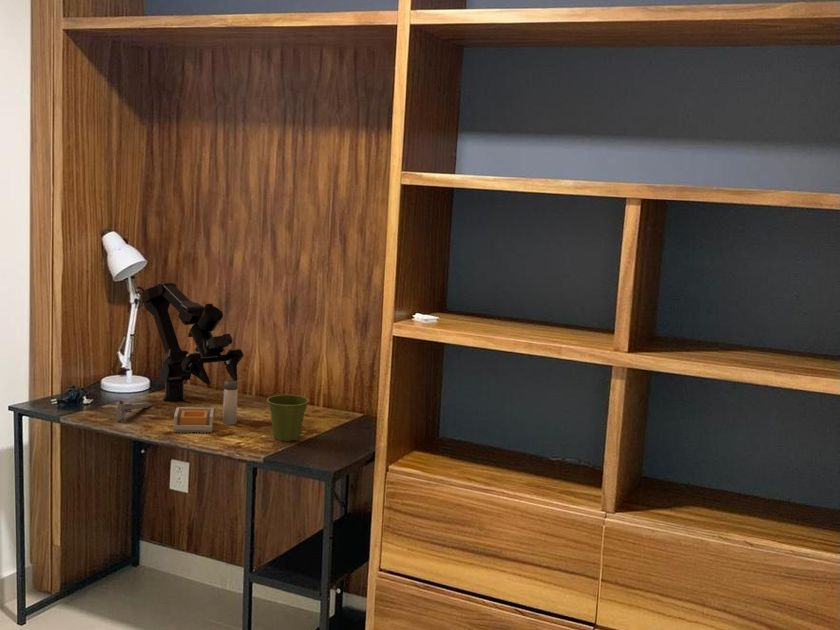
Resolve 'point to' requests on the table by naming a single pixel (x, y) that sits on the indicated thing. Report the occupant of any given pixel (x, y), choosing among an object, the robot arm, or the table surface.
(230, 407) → the plug
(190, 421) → the socket box
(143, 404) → the caliper
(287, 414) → the plant pot
